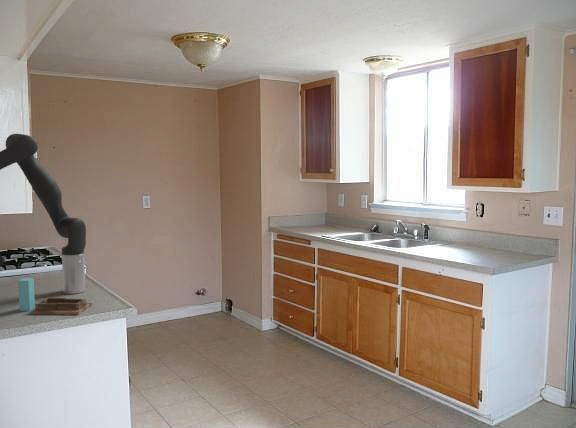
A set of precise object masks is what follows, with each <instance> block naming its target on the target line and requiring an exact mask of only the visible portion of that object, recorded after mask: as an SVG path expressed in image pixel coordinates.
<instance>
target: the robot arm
mask: <svg viewBox="0 0 576 428" xmlns="http://www.w3.org/2000/svg"><path fill="white" fill-rule="evenodd" d="M38 147H39V144H38V141H37V140H36V138H34V137H33V136H32V135H31V136H30V135H28V134H23V133H22V134H21V133H11V134H10V135H8V137H6V140H5V148H4V149H3V150H0V171H1V170H3V169H5V168H6V167H9V166H11V165H14V164H17V165H18V167H19V168H20V169H21V171H22V173H23V174H24V176H25V178H26V179H27V181H28V183H29V184H30V186H31V189H33V191H34V193H35V194H36V196H37V198H38V200H39V201H40V203H41V204H42V206H43V207H44V210H45V211H46V212H47V215H48V216H49V217H50V220H51V221H52V224H53V226H54V228H55V230H56V232H57V234H58V235H59V236H61V238H65V239H67V245H65V246H63V247H62V248H61V263H62V265H61V267H62V288H63V289H62V291H63V293H64V294H67V295H68V294H69V295H73V294H80V293H84V292H86V267H85V264H86V263H85V249H86V244H87V229H86V226H87V225H86V223H85V222H84V220H83V219H82V218H80V217H71V216H69V215H68V214H67V212H66V211H65V209H64V207H63V202H62V201H63V194H62V191H61V188H60V186H59V184H58V183H57V181H56V179H55V178H54V177H53V176H52V175H51V173H50V172H49V171H48V170H47V169H46V168H45V167H44V166H43V165H42V164H41V163H40V161H38V159H37V157H36V156H35V154H37V151H38ZM5 263H6V260H5V259H4V257H3V256H2V255H1V254H0V266H1V265H3V264H5Z"/></svg>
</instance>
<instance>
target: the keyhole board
mask: <svg viewBox="0 0 576 428" xmlns="http://www.w3.org/2000/svg"><path fill="white" fill-rule="evenodd" d="M91 305H93V303H92V302H87V298H66V297H45V298H43V299H41V300H40V301H38V302H36V303H35V308H34V309H33V310H31V314H30V315H43V314H64V316H68V315H69V316H80V314H82V313H83V312H85V311H86V310H87V309H89V308H91V307H92V306H91ZM88 307H89V308H88ZM84 310H85V311H84ZM81 312H82V313H81Z"/></svg>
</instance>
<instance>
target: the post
mask: <svg viewBox="0 0 576 428" xmlns="http://www.w3.org/2000/svg"><path fill="white" fill-rule="evenodd" d="M17 281H18V283H17V284H18V302H19V303H18V304H19V307H18V308H19V312H30V310H31V311H33V310H35V304H36V303H35V302H36V299H35V298H36V297H35V285H34V284H35V283H34V282H35V280H34V278H32V277H31V278H29V277H28V278H27V277H25V278H20V279H18V280H17Z"/></svg>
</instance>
